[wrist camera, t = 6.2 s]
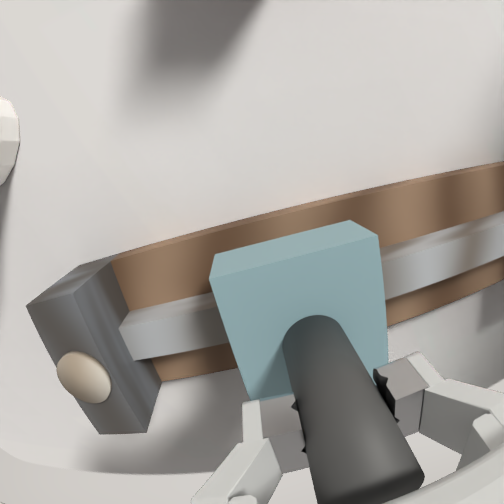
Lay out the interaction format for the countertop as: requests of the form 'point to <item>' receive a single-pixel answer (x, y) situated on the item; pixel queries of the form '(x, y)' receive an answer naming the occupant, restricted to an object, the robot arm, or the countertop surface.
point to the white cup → (8, 138)
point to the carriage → (320, 353)
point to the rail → (240, 235)
